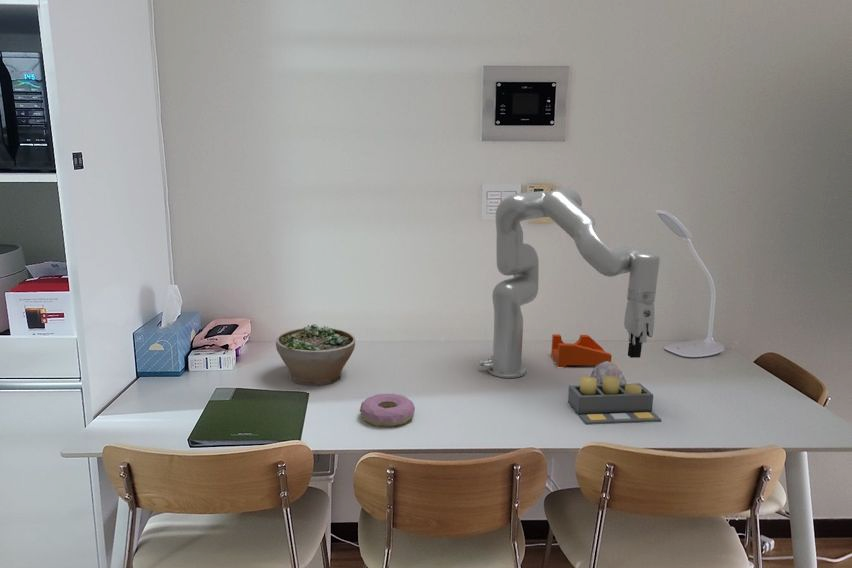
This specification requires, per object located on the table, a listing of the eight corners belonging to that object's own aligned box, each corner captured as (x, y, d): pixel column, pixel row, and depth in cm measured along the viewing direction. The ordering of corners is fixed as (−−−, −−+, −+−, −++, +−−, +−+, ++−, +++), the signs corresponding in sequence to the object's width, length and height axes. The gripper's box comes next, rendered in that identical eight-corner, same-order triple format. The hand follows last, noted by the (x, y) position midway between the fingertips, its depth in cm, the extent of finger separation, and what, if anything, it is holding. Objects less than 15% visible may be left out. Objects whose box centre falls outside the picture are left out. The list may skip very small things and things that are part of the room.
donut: (355, 409, 193) (355, 393, 192) (407, 404, 197) (407, 388, 196) (366, 432, 178) (366, 415, 177) (421, 426, 183) (421, 409, 182)
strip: (585, 424, 185) (585, 421, 185) (579, 416, 190) (579, 413, 190) (661, 421, 188) (661, 418, 187) (653, 414, 192) (653, 411, 192)
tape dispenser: (558, 368, 230) (559, 345, 228) (551, 356, 242) (552, 334, 240) (610, 369, 230) (612, 346, 228) (600, 357, 242) (602, 334, 241)
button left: (582, 398, 192) (583, 381, 191) (577, 392, 197) (578, 376, 196) (597, 397, 193) (599, 381, 192) (592, 391, 197) (593, 375, 196)
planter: (306, 359, 234) (305, 318, 230) (369, 371, 223) (369, 328, 220) (259, 383, 211) (257, 338, 208) (327, 397, 201) (326, 350, 197)
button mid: (605, 397, 193) (606, 381, 192) (599, 391, 198) (600, 375, 196) (620, 397, 194) (622, 380, 193) (614, 391, 198) (616, 375, 197)
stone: (612, 412, 208) (637, 392, 205) (590, 390, 207) (615, 369, 204) (603, 391, 224) (626, 372, 222) (583, 371, 223) (606, 351, 221)
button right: (627, 406, 195) (629, 389, 193) (621, 399, 199) (622, 384, 198) (642, 405, 195) (644, 389, 194) (636, 399, 200) (637, 383, 198)
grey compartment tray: (578, 415, 191) (579, 397, 190) (567, 402, 200) (569, 385, 198) (651, 412, 193) (653, 394, 192) (638, 400, 202) (639, 383, 201)
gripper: (665, 302, 183) (657, 365, 188) (642, 289, 198) (635, 348, 202) (639, 302, 182) (632, 366, 187) (618, 288, 197) (611, 348, 201)
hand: (633, 356), depth 194 cm, fingers closed
